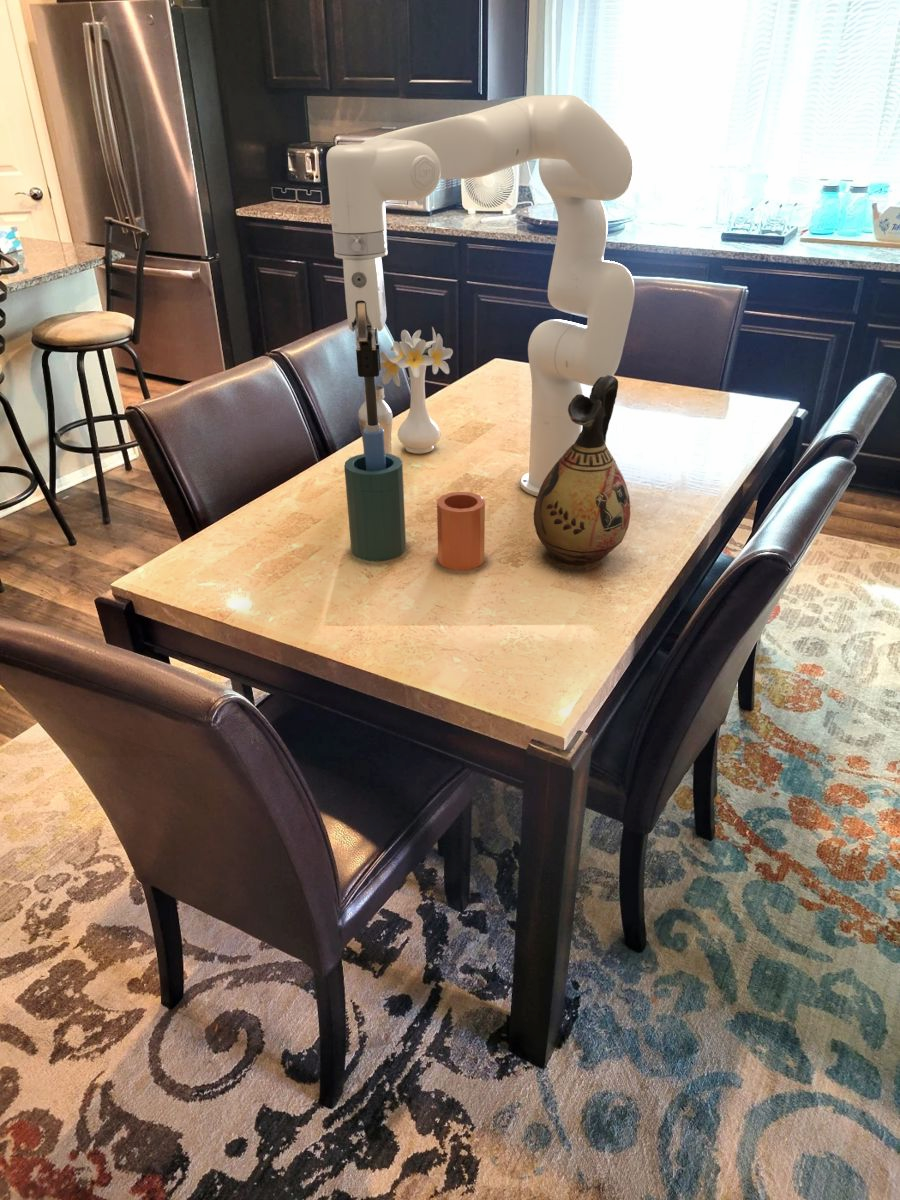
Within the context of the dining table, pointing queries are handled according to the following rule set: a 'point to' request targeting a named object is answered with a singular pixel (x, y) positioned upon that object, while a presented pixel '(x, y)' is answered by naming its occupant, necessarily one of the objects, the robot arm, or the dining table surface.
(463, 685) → the dining table surface
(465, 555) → the crock
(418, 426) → the flower vase
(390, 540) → the teal hollow cylinder
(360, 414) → the metal bottle
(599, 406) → the ceramic jug
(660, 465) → the dining table surface
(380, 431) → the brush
